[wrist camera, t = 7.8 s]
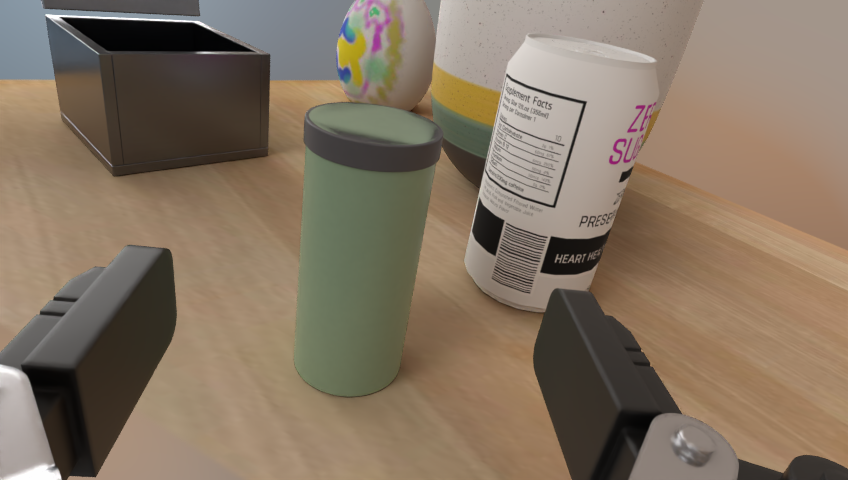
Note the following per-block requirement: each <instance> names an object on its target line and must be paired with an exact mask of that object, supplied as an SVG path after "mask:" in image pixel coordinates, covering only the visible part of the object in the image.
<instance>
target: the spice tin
mask: <svg viewBox="0 0 848 480" xmlns="http://www.w3.org/2000/svg"><path fill="white" fill-rule="evenodd" d="M443 136H444V135H443V131H442V129H441V128H440V126H438V125H437V124H436V123H434V122H433V121H431V120H429V119H427V118H425V117H423V116H421V115H418V114H415V113H412V112H409V111H406V110H402V109H398V108H394V107H389V106H383V105H377V104H369V103H356V102H338V103H328V104H323V105H318V106H315V107H313V108H311V109H309V110H308V111H307V112H306V114H305V122H304V143H305V145H306V153H305V170H304V188H303V206H302V224H301V242H300V259H299V277H298V295H297V313H296V330H295V348H294V363H295V367H296V369H297V371H298V373H299V375H300V376H301V377H302V378H303V379H304V380H305V381H306V382H307V383H308V384H309V385H311V386H312V387H314V388H316V389H318V390H320V391H322V392H325V393H328V394H332V395H336V396H344V397H354V396H363V395H368V394H371V393H374V392H377V391H379V390H381V389H383V388H385V387H386V386H387V385H389V384H390V383H391V382H392V381H393V380H394V378H395V377H396V376H397V374H398V372H399V368H400V364H401V358H402V352H403V347H404V341H405V335H406V330H407V324H408V319H409V313H410V307H411V302H412V296H413V290H414V285H415V279H416V273H417V268H418V262H419V257H420V251H421V245H422V240H423V234H424V228H425V223H426V217H427V211H428V206H429V200H430V194H431V189H432V183H433V178H434V172H435V166H436V162H437V161H438V160H439V157H440V153H441V147H442V141H443Z"/></svg>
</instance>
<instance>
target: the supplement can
mask: <svg viewBox="0 0 848 480" xmlns="http://www.w3.org/2000/svg"><path fill="white" fill-rule="evenodd" d="M657 62H658V61H657V60H656V59H655V58H653V57H650V56H648V55H645V54H642V53H639V52H636V51H632V50H629V49H625V48H621V47H617V46H613V45H609V44H604V43H599V42H595V41H590V40H585V39H579V38H573V37H567V36H560V35H553V34H542V33H528V34H527V35H526V38H525V42H524V43H523V44H522V46H521V47H520V48H519V49H518V51H517V52H516V53H515V54H514V56H513V57H512V58H511V60H510V61H509V62H508V65H507V70H506V74H505V79H504V83H503V88H502V92H501V97H500V101H499V106H498V110H497V115H496V119H495V124H494V128H493V133H492V137H491V142H490V146H489V151H488V155H487V160H486V164H485V169H484V173H483V178H482V182H481V187H480V191H479V196H478V200H477V205H476V209H475V214H474V218H473V223H472V227H471V232H470V236H469V241H468V245H467V250H466V254H465V259H464V262H465V266H466V269H467V272H468V273H469V274H470V276H471V277H472V278H473V280H474V282H475V283H476V284H477V285H478V286H479V287H480V289H481V290H482V291H483V292H484V293H486V294H488V295H489V296H491V297H492V298H494V299H496V300H497V301H499V302H501V303H504V304H506V305H509V306H512V307H514V308H517V309H522V310H527V311H533V312H545V310H546V307H547V304H548V301H549V298H550V295H551V293H552V291H553V290H554V289H556V288H561V289H571V290H581V291H589V288H590V286H591V283H592V280H593V277H594V274H595V272H596V269H597V266H598V263H599V261H600V258H601V255H602V252H603V249H604V247H605V244H606V241H607V238H608V236H609V233H610V230H611V227H612V224H613V222H614V219H615V216H616V213H617V210H618V208H619V205H620V202H621V199H622V197H623V194H624V191H625V188H626V185H627V183H628V180H629V177H630V174H631V172H632V169H633V166H634V163H635V160H636V157H637V155H638V152H639V149H640V147H641V144H642V141H643V138H644V135H645V133H646V130H647V127H648V124H649V122H650V119H651V116H652V113H653V110H654V108H655V105H656V102H657V99H658V97H659V87H658V81H657V74H656V68H655V67H656V65H657Z"/></svg>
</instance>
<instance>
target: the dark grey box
mask: <svg viewBox="0 0 848 480" xmlns="http://www.w3.org/2000/svg"><path fill="white" fill-rule="evenodd" d="M45 18H46V25H47V31H48V37H49V43H50V50H51V55H52V62H53V68H54V74H55V81H56V87H57V93H58V99H59V105H60V111H61V118H62V120H63V122H64V123H65V124H66V125H67V126H68V127H69V128H70V129H71V130H72V131H73V132H74V134H75V135H76V136H77V137H78V138H79V139H80V140H81V141H82V142H83V143H84V144H85V146H86V147H87V148H88V149H89V150H90V151H91V152H92V153H93V154H94V155H95V156H96V158H97V159H98V160H99V161H100V162H101V163H102V164H103V165H104V166H105V167H106V168H107V170H108V171H109V172H110V173H111V174H112V175H113V176H118V175H126V174H133V173H141V172H148V171H156V170H163V169H171V168H178V167H186V166H193V165H201V164H208V163H216V162H223V161H231V160H238V159H246V158H253V157H261V156H268V133H269V88H270V54H268V53H266V52H264V51H262V50H260V49H257V48H255V47H253V46H251V45H249V44H247V43H245V42H242V41H240V40H238V39H236V38H234V37H232V36H229V35H227V34H225V33H223V32H221V31H219V30H216V29H214V28H212V27H209V26H208V25H206V24H203V23H201V22H199V21H180V20H156V19H133V18H109V17H87V16H63V15H57V16H56V15H45Z"/></svg>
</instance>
